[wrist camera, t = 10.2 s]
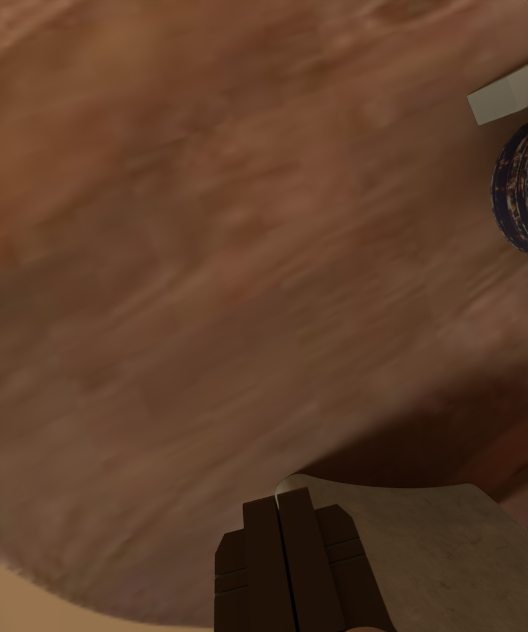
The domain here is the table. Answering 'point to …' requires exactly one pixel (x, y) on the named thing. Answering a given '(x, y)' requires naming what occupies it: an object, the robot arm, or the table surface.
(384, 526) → the hip flask
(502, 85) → the grey u-shaped frame
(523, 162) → the black ribbed barrel
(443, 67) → the table surface
